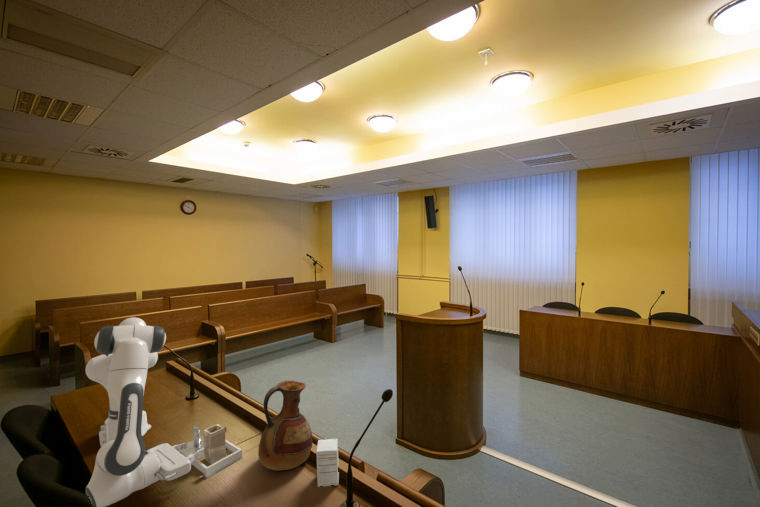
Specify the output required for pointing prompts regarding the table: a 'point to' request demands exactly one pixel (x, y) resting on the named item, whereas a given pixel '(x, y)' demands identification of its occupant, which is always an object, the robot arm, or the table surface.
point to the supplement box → (327, 462)
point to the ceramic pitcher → (285, 431)
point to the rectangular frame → (219, 464)
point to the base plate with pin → (194, 443)
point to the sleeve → (214, 443)
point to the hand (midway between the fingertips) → (192, 449)
